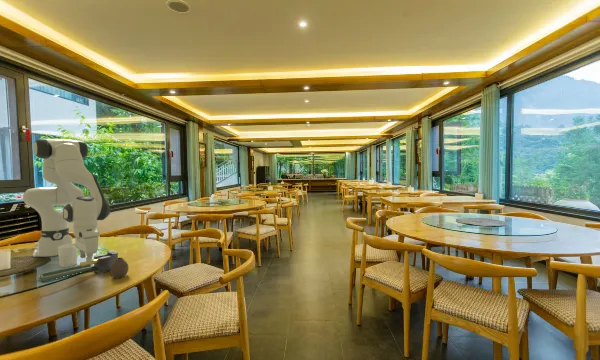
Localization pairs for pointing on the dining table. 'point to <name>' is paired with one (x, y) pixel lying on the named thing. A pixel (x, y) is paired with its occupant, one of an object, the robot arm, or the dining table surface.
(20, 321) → the dining table surface
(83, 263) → the hitch pin
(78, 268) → the tray
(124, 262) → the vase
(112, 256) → the hitch block
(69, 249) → the white cup
